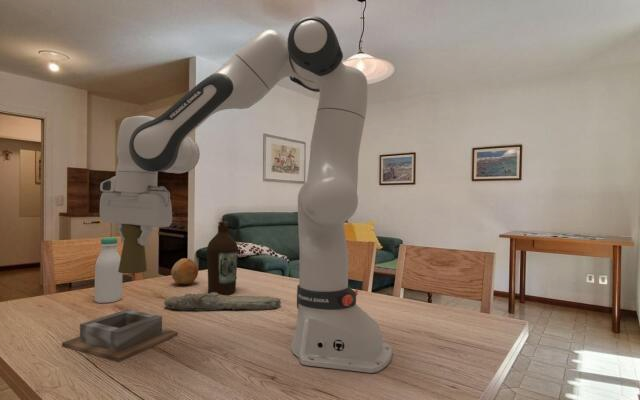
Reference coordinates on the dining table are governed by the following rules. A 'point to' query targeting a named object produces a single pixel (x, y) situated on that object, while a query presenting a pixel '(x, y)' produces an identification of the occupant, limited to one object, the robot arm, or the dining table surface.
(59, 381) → the dining table surface
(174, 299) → the long grey stone
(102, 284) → the milk bottle
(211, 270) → the olive oil
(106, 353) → the socket block
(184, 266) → the onion
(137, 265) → the cork
